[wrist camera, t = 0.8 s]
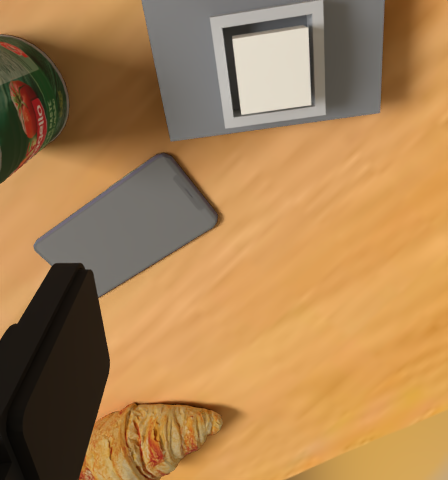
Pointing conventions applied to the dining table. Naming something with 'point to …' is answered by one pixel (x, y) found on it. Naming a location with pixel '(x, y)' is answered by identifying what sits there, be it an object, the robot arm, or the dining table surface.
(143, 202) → the smartphone
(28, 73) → the canned tomato
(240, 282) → the dining table surface
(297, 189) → the dining table surface
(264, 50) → the button
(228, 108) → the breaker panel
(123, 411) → the croissant
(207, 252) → the dining table surface
